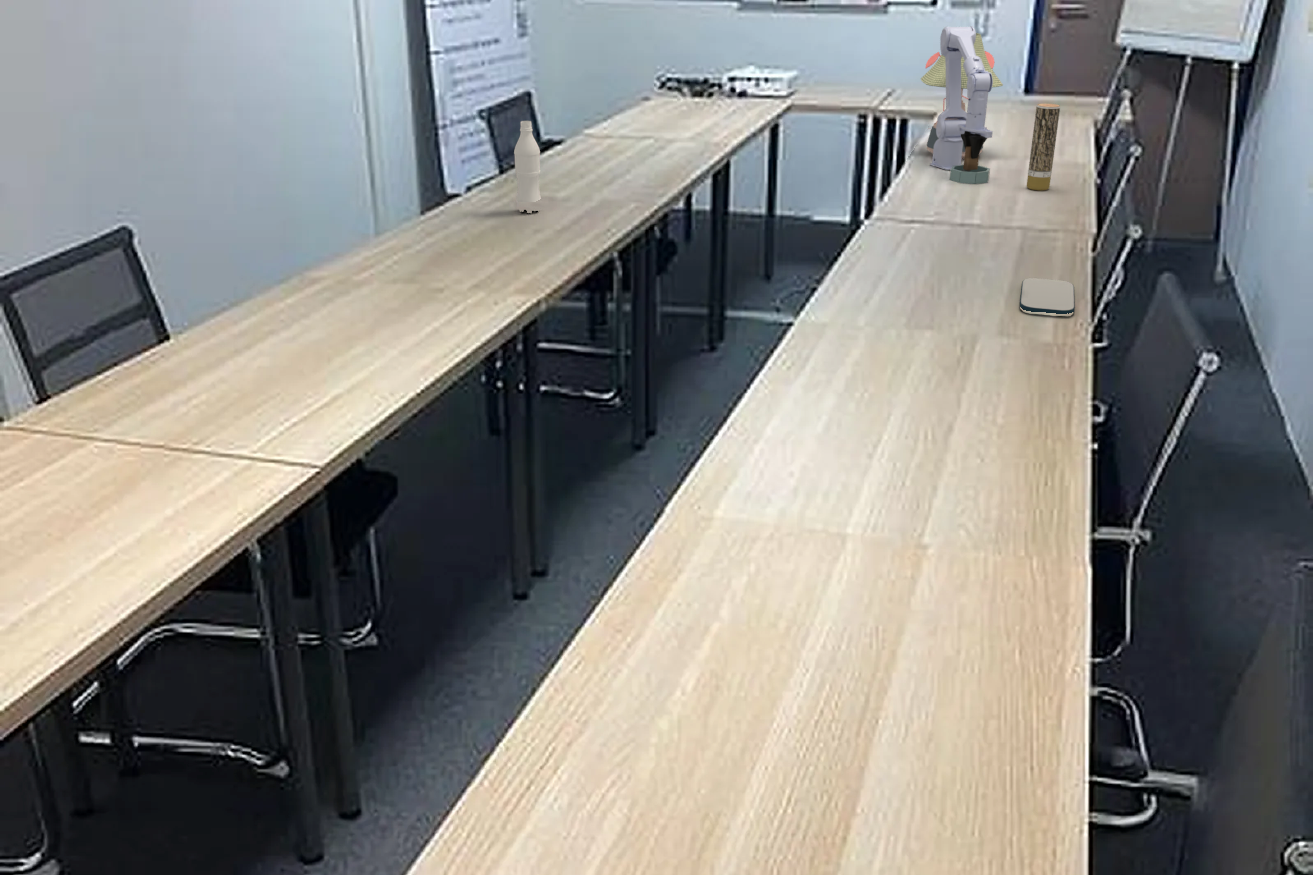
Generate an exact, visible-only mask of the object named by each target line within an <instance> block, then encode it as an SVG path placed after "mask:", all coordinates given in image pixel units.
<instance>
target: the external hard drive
mask: <svg viewBox="0 0 1313 875" xmlns="http://www.w3.org/2000/svg"><path fill="white" fill-rule="evenodd" d="M1075 300H1076V299H1075V286H1074V284H1073V283H1072V282H1070V281H1067V280H1060V279H1049V278H1039V277H1034V278H1033V277H1029V278H1024V279H1023V280H1022V282H1021V288H1020V297H1019V308H1020V307H1021V308H1022V309H1023V310H1026V311H1031V312H1046V313H1056V314H1067V313H1068V314H1069V313H1072V312H1074V313H1075V308H1076V307H1075V306H1076V304H1075V302H1076V301H1075Z"/></svg>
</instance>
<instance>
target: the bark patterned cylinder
mask: <svg viewBox="0 0 1313 875" xmlns="http://www.w3.org/2000/svg"><path fill="white" fill-rule="evenodd" d="M1060 112H1061V105H1060V104H1056V103H1055V104H1054V103H1037V104H1036V108H1035V117H1034V122H1033V131H1032V138H1031V140H1032V141H1031V146H1030V147H1031V148H1030V155H1029V156H1030V157H1029V162H1028V163H1029V164H1028V170H1027V171H1028V172H1027V179H1026V188H1027V189H1028V190H1031V191H1041V192H1043V191H1047V190H1049V189H1050V187H1051V186H1050V185H1051V180H1052V179H1051V178H1052V172H1053V164H1054V159H1055V158H1054V157H1055V156H1054V155H1055V151H1056V150H1055V148H1056V142H1057V135H1058V128H1059V119H1060Z"/></svg>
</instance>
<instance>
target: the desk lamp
mask: <svg viewBox="0 0 1313 875" xmlns="http://www.w3.org/2000/svg"><path fill="white" fill-rule="evenodd" d="M982 38H983V37H982V34H981V33H978V32H976V40H975V43H974V49H975V53H976V56H978V57H980V58H981V60H982V63H983V65H984V68H985V71H988V72H990V73H991V74H992V78H993V84H992V88H999V87H1003V86H1004V84H1003V82H1002V81H1001V80H1000V79H999V77H998V76H997V75H996V73H995V72H994V69H992V68H991V67H990V65H989V62H988V60H987V58H986V54H985V51H986V50H985V48H984V47H985V46H984V42H983V39H982ZM940 55H941V56H940V57H938V59H937V60H936V62H934V64H933V66H932V67H931V68H929V70H928V71H927V72H926V73H925V74H924V75H923V76H922V77H921V78H920V81H921V82H922V83H923V84H925V85H926V86H929V87H939V88H946V63H945V56H943V55H942V54H940ZM964 61H965V60H964V58H963V56H962V58H961V108H962V109H963V110H964V111H965V112H966V103H965V102H964V100H963V97H962V95H963V92H964V89H965V90H967V80H968V78H967V76H966V73H965V70H964V67H963V63H964ZM936 126H937V121H936V122H934V123H933V125H932V126H931V127H930V133H929V136H928V139H927V142H926V150H927V151H928V152H929V153H930V154H932V155H933V149H934V144H935V142H936V141H937V140H938V139H939V138H938V137H937V134H936ZM983 149H984V145H983V146H982V148H981V150H980V153H979V154H981V153H982V152H983ZM964 158H965V147H964V143H963V148H962V158H961V160H964Z"/></svg>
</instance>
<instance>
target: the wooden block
mask: <svg viewBox="0 0 1313 875" xmlns="http://www.w3.org/2000/svg"><path fill="white" fill-rule="evenodd" d="M979 159H980V155H979V156H978V158H975V159H972V158H971V146H967V147H966V149H965V158H964V159H963V165H964V166H963V169H964V170H977V169H978V165H979V161H980V160H979Z"/></svg>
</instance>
